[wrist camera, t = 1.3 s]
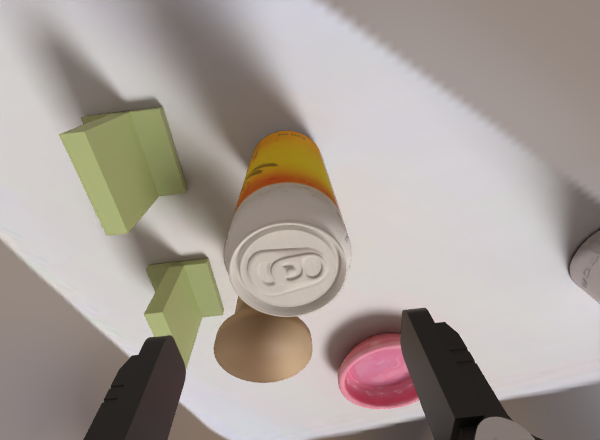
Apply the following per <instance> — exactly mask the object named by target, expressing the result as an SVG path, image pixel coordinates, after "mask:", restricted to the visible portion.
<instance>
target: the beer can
mask: <svg viewBox="0 0 600 440" xmlns="http://www.w3.org/2000/svg"><path fill="white" fill-rule="evenodd" d="M351 257H352V250H351V243H350V240H349V237H348V234H347V231H346V228H345V225H344V222H343V219H342V216H341V213H340V210H339V206H338V203H337V200H336V197H335V194H334V191H333V188H332V185H331V182H330V179H329V176H328V173H327V170H326V167H325V164H324V161H323V158H322V155H321V152H320V150H319V148H318V147H317V145H316V144H315V143H314V142H313V141H312V140H311V139H310V138H308V137H307V136H305V135H303V134H301V133H298V132H295V131H279V132H275V133H272V134H270V135H268V136H267V137H265V138H264V139H262V140H261V141H260V142H259V144H258V145H257V146H256V148H255V149H254V151H253V154H252V157H251V160H250V164H249V167H248V170H247V173H246V177H245V180H244V183H243V187H242V190H241V193H240V197H239V200H238V203H237V206H236V210H235V213H234V216H233V220H232V223H231V226H230V229H229V233H228V236H227V239H226V243H225V247H224V262H225V266H226V270H227V272H228V274H229V277H230V281H231V284H232V286H233V289H234V290H235V292H236V293H237V295H238V296H239V297H240V298H241V299H242V300H243V301H244V302H245V303H246V304H248V305H249V306H251V307H252V308H254V309H256V310H258V311H260V312H263V313H266V314H269V315H274V316H281V317H294V316H301V315H305V314H309V313H312V312H315V311H317V310H319V309H321V308H323V307H324V306H326V305H327V304H329V303H330V302H331V301H332V300H333V299H334V298H335V297H336V296H337V295H338V294H339V292H340V291H341V289H342V287H343V286H344V283H345V280H346V276H347V272H348V270H349V267H350V263H351Z"/></svg>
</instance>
